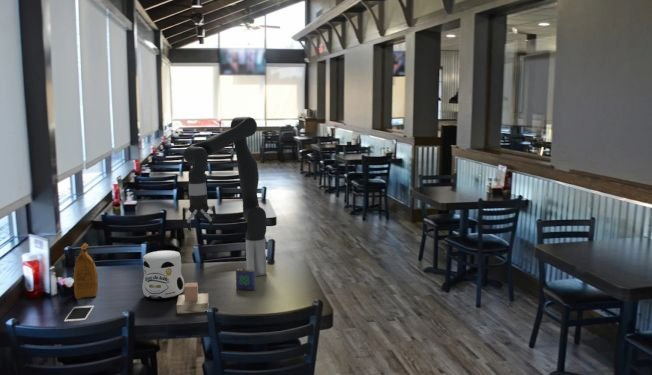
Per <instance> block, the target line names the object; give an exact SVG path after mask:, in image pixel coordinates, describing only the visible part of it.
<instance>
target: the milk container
mask: <svg viewBox="0 0 652 375" xmlns="http://www.w3.org/2000/svg"><path fill="white" fill-rule="evenodd" d="M142 264H143V280H142V288H141V290H142V293H143V295H144V296H145V297H146V298H148V299H150V300H151V299H152V300H167V299H173V298H176V297H178V296H179V295H182V294H183V292H184V286H185V280H184V277H183V273H182V272H183V271H182V258H181V254H180V252H179V251H175V250H157V251H152V252H148V253H146V254H144V255H143V257H142Z"/></svg>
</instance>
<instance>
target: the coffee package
mask: <svg viewBox="0 0 652 375" xmlns="http://www.w3.org/2000/svg"><path fill="white" fill-rule="evenodd" d="M88 247H89V244H88V243H86V242H84V243H83V244H82V245H81V246H80V250H81V251H80V253H79V255H78V257H77V258H76V261H75V263H74V270H73V292H74V298H75V299H76V300H80V299H84V298H86V299H87V298H92V297H96V296H97V294H98V290H99V277H98V276H99V275H98V271H97V266H96V263H95V261H94V259H93V258H92V256H91V255H89V253H88V250H87V248H88Z"/></svg>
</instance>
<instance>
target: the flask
mask: <svg viewBox="0 0 652 375" xmlns="http://www.w3.org/2000/svg"><path fill="white" fill-rule="evenodd" d="M255 273H256V272H255V270H247V265H245V266H243V268H241V267H239V268H236V269H235V277H236V278H235V289H236V290H238V291H247V292H249V291H250V292H252V291H254V292H255V291H256V290H257V286H256V285H257V283H256V280H257V279H256V276H255Z"/></svg>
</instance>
